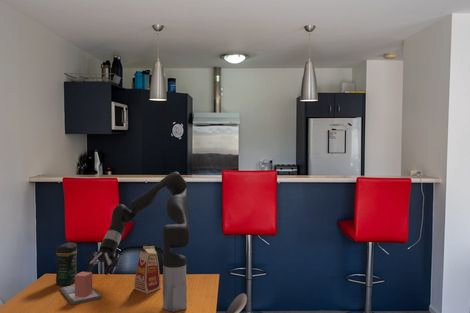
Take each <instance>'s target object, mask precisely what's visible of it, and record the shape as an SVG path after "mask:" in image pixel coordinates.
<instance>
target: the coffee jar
mask: <svg viewBox="0 0 470 313" xmlns="http://www.w3.org/2000/svg"><path fill="white" fill-rule="evenodd" d="M55 254H56V276H55V284H56V285H59V286H69V285H72V284H73V283H74V284H75V275H76V274H78V272H77V271H78V270H77V256H78V255H77V254H78V245H77V243H76V242H71V241H70V242H69V241H68V242H66V243H64V244H60V245H58V246H57V247H56V253H55Z"/></svg>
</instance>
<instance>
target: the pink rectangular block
mask: <svg viewBox="0 0 470 313" xmlns="http://www.w3.org/2000/svg"><path fill="white" fill-rule="evenodd" d="M74 285H75V296H76V297H87V296H89V295H90V294H92V287H93V271H92V272H88V271H81V272H77V274H76V275H75V282H74Z"/></svg>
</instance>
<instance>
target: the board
mask: <svg viewBox="0 0 470 313" xmlns="http://www.w3.org/2000/svg"><path fill="white" fill-rule="evenodd" d="M59 290H60V292H61V293H62V295H64V297H65V298H66V300H68V302H69V303H70V305H76V304H81V303H82V304H83V303H86V302H90V301H94V300H95V301H96V300H100V299H102V295H101V294H100V293H99V292H98V291H97V290H96V289H95V288H94V286H92V294H90V295H89V296H87V297H76V296H75V284H73V285H70V286H69V285H67V286H63V287H60V288H59Z"/></svg>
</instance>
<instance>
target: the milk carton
mask: <svg viewBox="0 0 470 313" xmlns="http://www.w3.org/2000/svg"><path fill="white" fill-rule="evenodd" d="M155 247H156V246H155V245H152V246H147V245H143V246H142V249H141V250H140V252H139V256H138V262H137V265H136V266H137V267H136V270H135V278H134V284H133V285H134V286H133V288H134V289H135V290H136V291H138V292H141V293H144V294H146V295H147V294H150V293H152V292H155V291H158V290H159V289H161V273H160V264H159V259H158V252H157V251H156V249H155Z"/></svg>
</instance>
